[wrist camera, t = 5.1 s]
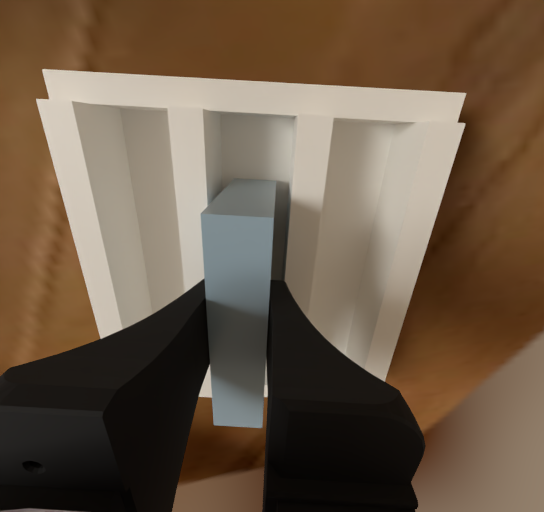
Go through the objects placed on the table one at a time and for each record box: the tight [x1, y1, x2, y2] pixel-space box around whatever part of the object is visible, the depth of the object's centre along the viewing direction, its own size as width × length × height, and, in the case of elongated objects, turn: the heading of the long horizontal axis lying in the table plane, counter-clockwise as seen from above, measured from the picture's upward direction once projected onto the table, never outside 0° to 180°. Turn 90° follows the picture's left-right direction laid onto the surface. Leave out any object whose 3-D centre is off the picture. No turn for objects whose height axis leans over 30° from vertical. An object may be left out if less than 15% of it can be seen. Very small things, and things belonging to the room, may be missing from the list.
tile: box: [201, 178, 276, 428], centre depth 12 cm, size 9×2×6 cm, turn 177°
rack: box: [36, 69, 466, 397], centre depth 14 cm, size 16×15×4 cm
